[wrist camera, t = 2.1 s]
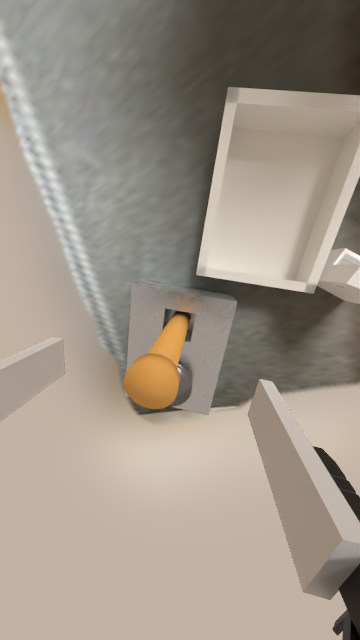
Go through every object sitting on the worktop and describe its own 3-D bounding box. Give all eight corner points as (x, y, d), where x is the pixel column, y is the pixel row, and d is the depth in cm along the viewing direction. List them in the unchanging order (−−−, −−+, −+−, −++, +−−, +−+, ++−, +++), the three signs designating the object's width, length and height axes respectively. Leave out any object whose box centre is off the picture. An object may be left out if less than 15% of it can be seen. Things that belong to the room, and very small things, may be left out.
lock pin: (172, 303, 24) (125, 356, 10) (195, 307, 23) (181, 368, 9) (169, 325, 25) (122, 402, 11) (191, 329, 24) (173, 414, 10)
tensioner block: (145, 280, 24) (121, 285, 17) (230, 294, 23) (242, 306, 16) (137, 375, 29) (116, 410, 22) (207, 390, 28) (208, 432, 21)
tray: (224, 119, 18) (228, 86, 15) (354, 130, 17) (390, 97, 14) (197, 273, 23) (195, 274, 20) (297, 289, 22) (313, 293, 19)
